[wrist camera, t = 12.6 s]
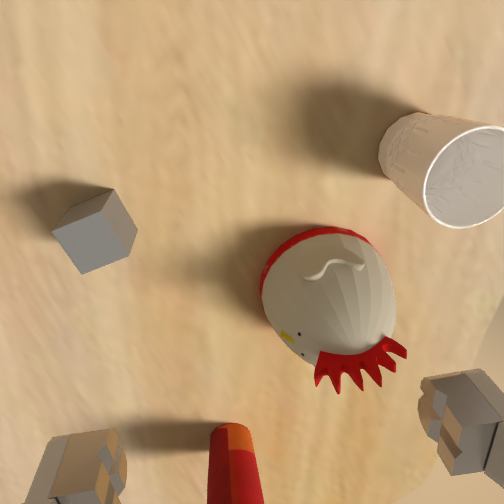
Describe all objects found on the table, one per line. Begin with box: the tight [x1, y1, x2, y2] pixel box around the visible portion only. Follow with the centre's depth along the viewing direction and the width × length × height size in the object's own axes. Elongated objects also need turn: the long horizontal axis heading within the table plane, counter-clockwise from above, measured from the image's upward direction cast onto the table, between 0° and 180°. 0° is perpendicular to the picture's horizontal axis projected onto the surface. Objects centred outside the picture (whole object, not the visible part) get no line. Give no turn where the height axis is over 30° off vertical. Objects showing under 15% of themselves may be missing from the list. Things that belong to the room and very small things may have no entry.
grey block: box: [51, 189, 138, 274], centre depth 35 cm, size 4×4×6 cm
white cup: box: [378, 112, 504, 229], centre depth 34 cm, size 8×8×10 cm
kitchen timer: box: [260, 227, 407, 394], centre depth 38 cm, size 14×14×15 cm
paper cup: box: [207, 423, 264, 504], centre depth 48 cm, size 8×8×14 cm
